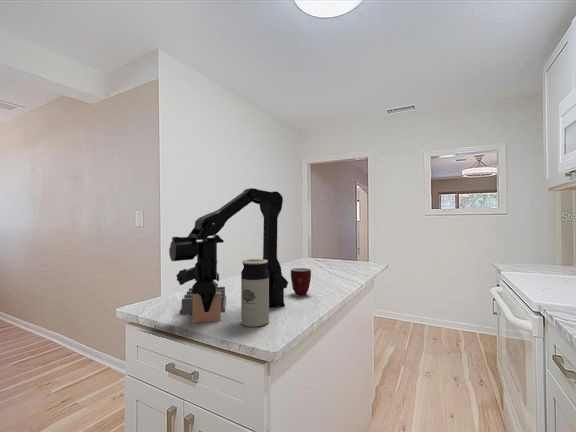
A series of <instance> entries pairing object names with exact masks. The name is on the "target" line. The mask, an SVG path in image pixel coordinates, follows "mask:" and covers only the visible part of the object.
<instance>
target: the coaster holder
mask: <svg viewBox="0 0 576 432" xmlns="http://www.w3.org/2000/svg"><path fill="white" fill-rule="evenodd" d="M216 292H221V313H226V305H227V295H226V287H225V286H218V287H217V291H216ZM179 315H193V294H192V287H189V288H188V290H187V291H186V294H184V297H183V298H181V308H180V309H179Z"/></svg>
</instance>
